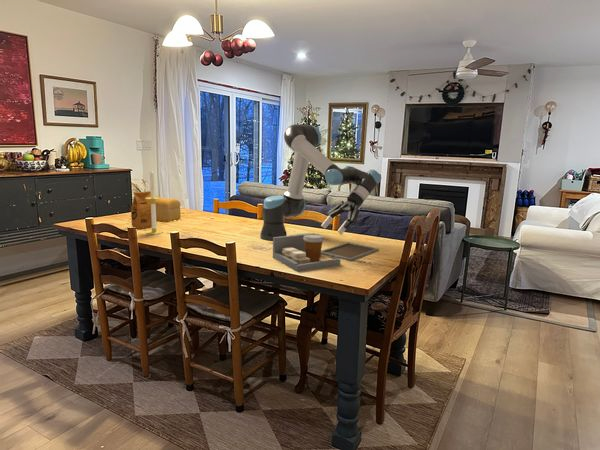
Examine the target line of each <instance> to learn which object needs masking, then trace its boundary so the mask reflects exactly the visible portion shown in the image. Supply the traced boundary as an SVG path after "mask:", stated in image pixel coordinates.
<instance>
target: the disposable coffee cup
mask: <svg viewBox="0 0 600 450" xmlns="http://www.w3.org/2000/svg"><path fill="white" fill-rule="evenodd" d="M305 234H306V235H304V238H303V239H304V243H305V253H306V257H307V258H310V263H312V262H319V261H321V260H320V259H321V255H322V254H321V251H322V248H323V242H324V235H322V234H320V233H315V234H310V233H305Z"/></svg>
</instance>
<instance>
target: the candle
mask: <svg viewBox="0 0 600 450" xmlns="http://www.w3.org/2000/svg"><path fill="white" fill-rule="evenodd" d="M149 179H150V180H149V182H150V184H149V185H150V187H149V188H150V192H151V197H146V198H145V199H149V200H151V217H152V227H151V230H150V229H149V230H147V231H145V232H146V233H148V234H147V235H155V234H154V233H156V232H159V230H160V229H157V228H158V227H157V221H156V204H155V199H160V197H161V196H156V194H155V193H156V191H155V189H156V188H155V172H154V171H153V168H151V169H150V172H149ZM146 233H145V234H146Z"/></svg>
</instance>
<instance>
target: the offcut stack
mask: <svg viewBox="0 0 600 450" xmlns="http://www.w3.org/2000/svg"><path fill="white" fill-rule="evenodd" d="M282 255H283V256H285V257H287V258H289V259H291V260H293V261H295V262H297V263H298V264H305V263H311V262H310V258H307V257H306V253H305V252H303V251H300V250H298V249H295V248H293V247H287V248H282Z"/></svg>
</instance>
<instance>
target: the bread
mask: <svg viewBox="0 0 600 450" xmlns="http://www.w3.org/2000/svg"><path fill="white" fill-rule="evenodd" d="M159 197H160V199H155V204H156V220H157V221H156V222H163V221H166V222H165V223H171V222H170V221H172V222H175V221H174V220H176V221H178V220H179V219H180V220H181V215H182V214H181V202H180V200H178V199H177V198H172V197H164V196H163V197H162V196H159ZM180 220H179V221H180Z"/></svg>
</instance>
